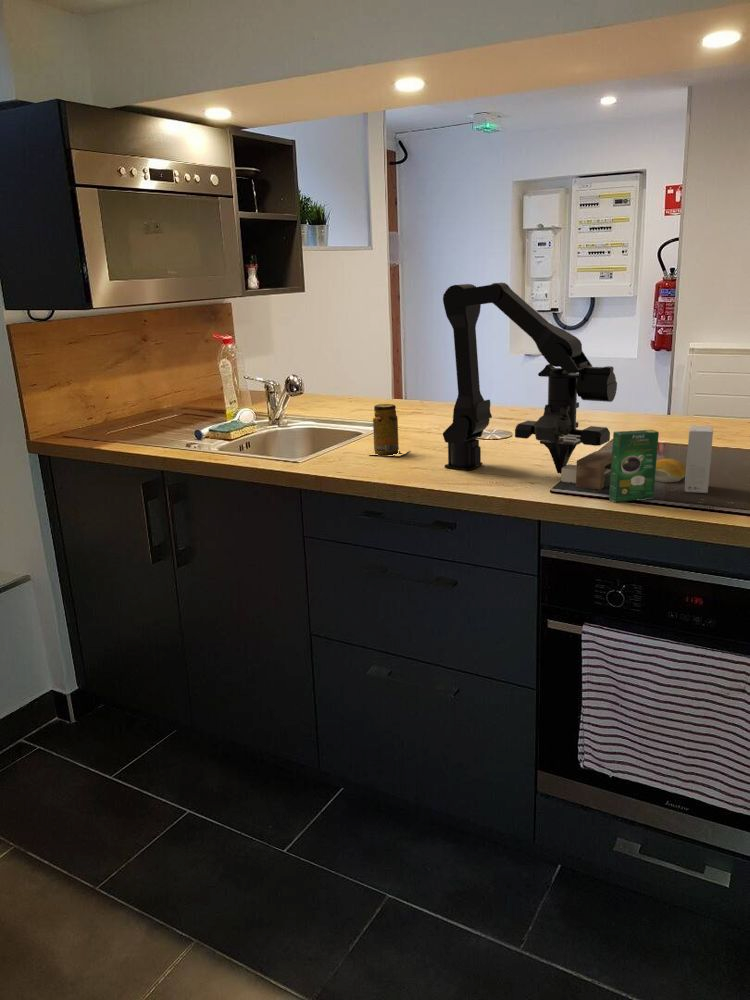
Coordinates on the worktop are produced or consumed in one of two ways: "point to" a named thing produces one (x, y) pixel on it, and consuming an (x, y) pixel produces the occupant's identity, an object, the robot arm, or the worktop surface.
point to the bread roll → (669, 470)
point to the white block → (570, 474)
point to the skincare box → (698, 459)
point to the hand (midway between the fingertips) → (560, 473)
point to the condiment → (385, 429)
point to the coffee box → (633, 465)
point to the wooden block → (592, 470)
